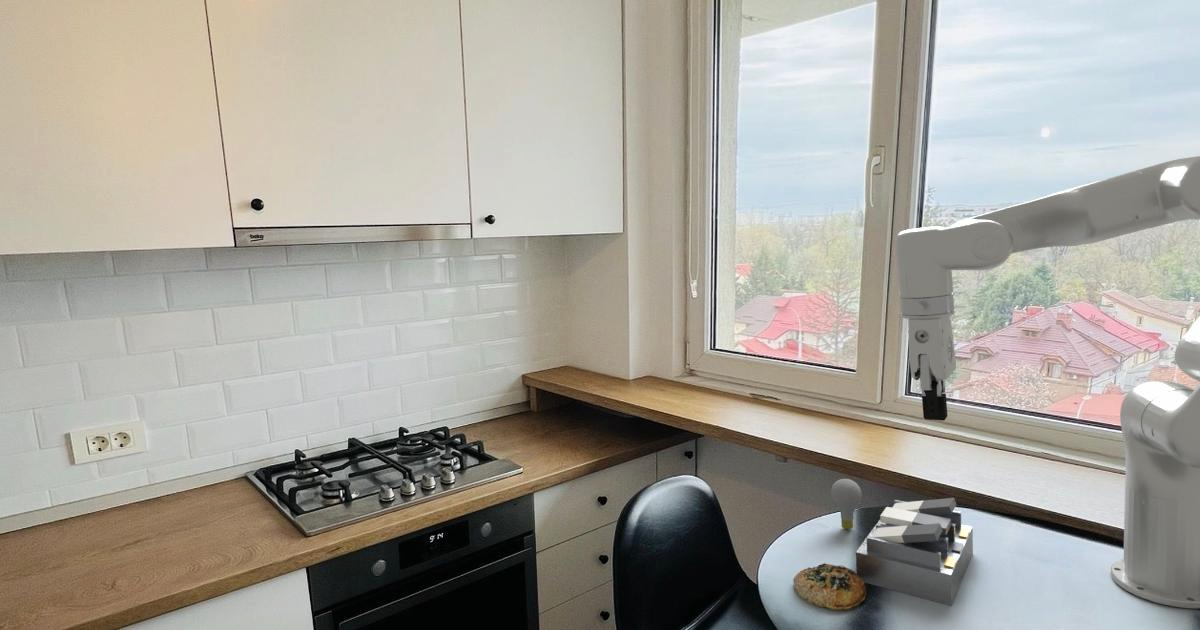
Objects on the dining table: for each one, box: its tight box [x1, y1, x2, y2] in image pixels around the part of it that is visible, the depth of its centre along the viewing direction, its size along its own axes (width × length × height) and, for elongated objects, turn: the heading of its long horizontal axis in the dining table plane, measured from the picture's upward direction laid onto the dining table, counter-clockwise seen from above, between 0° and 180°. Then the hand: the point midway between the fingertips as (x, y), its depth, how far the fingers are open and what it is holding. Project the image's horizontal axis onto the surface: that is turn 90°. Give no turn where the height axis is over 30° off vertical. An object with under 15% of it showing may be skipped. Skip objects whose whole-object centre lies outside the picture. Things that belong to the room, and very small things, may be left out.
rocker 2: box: [879, 506, 951, 535], centre depth 108 cm, size 10×4×1 cm, turn 51°
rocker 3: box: [871, 523, 943, 544], centre depth 104 cm, size 10×4×1 cm, turn 51°
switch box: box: [855, 499, 974, 606], centre depth 109 cm, size 14×18×8 cm
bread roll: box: [792, 562, 867, 611], centre depth 104 cm, size 11×11×5 cm
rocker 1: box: [891, 497, 957, 515], centre depth 113 cm, size 10×4×1 cm, turn 51°
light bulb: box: [830, 478, 862, 531], centre depth 124 cm, size 6×6×10 cm
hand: (935, 418), depth 104 cm, fingers closed
